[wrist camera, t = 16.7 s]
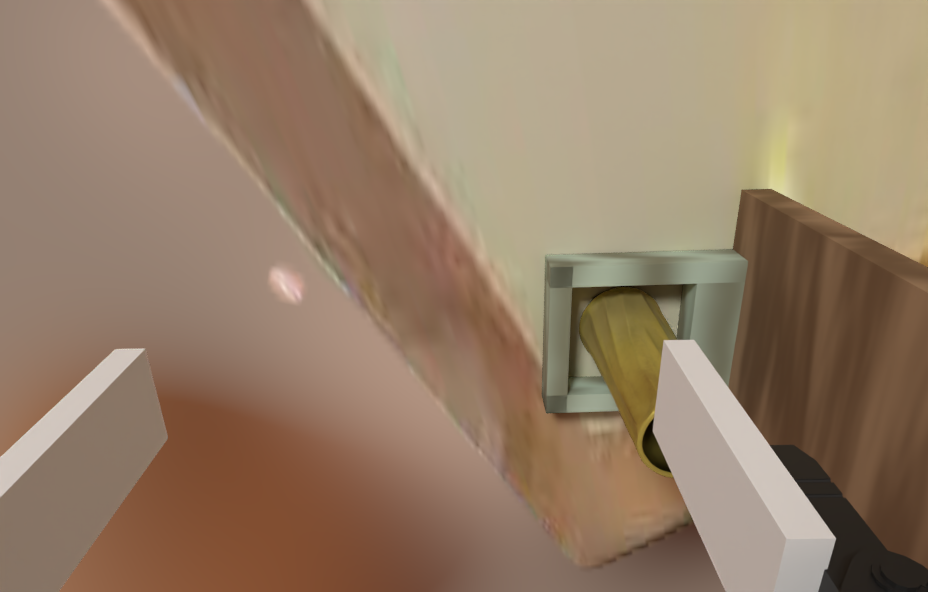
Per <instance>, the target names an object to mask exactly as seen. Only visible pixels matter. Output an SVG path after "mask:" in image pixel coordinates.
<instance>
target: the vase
mask: <svg viewBox="0 0 928 592" xmlns="http://www.w3.org/2000/svg"><path fill="white" fill-rule="evenodd" d="M579 334H580V338H581V341H582V343H583V345H584V346H585V348H586V349H587V351H588V352H589V353H590V354H591V355H592V357H593V359H594V361H595V363H596V365H597V367H598V369H599V371H600V373H601V375H602V377H603V379H604V381H605V383H606V385H607V387H608V389H609V391H610V393H611V395H612V397H613V399H614V401H615V403H616V406H617V408H618V410H619V412H620V415H621V417H622V419H623V421H624V423H625V426H626V428H627V430H628V432H629V434H630V436H631V438H632V440H633V442H634V445H635V447H636V449H637V452H638V454H639V456H640V458H641V460H642V461H643V463H644V464H645V465H646V466H647V467H648V468H650V469H651V470H653V471H654V472H656V473H658V474H660V475H662V476H665V477H670V478H674V477H673V475H672V473H671V470H670V468H669V466H668V464H667V462H666V459H665V457H664V455H663V453H662V451H661V448H660V446H659V444H658V442H657V440H656V437H655V435H654V433H653V423H654V415H655V407H656V399H657V390H658V382H659V374H660V366H661V357H662V349H663V341H664V340H677V338H676V336H675V335H674V333H673V331H672V329H671V328H670V326H669V324H668V323H667V321H666V319H665V318H664V316H663V314H662V313H661V310H660V308H659V306H658V304H657V302H656V301H655V300H654V299H653V298H652V297H651V296H649V295H648V294H646V293H645V292H643V291H641V290H640V289H636V288H631V287H619V288H614V289H610V290H607V291H605V292H603V293H601V294H600V295H598V296H597V297H596V298H594V299H593V300H592V301H591V302H590V304H589V305H588V306H587V307H586V309H585V310H584V312H583V314H582V316H581V320H580V325H579Z"/></svg>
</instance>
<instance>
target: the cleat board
mask: <svg viewBox="0 0 928 592" xmlns="http://www.w3.org/2000/svg"><path fill="white" fill-rule="evenodd" d="M668 284H683V289H682V297H681V306H680V314H679V322H678V331H677V340H695V342H696V343H697V344H698V346H699V347H700V349H701V350H702V351H703V353H704V354H705V356H706V357H707V358H708V360H709V361H710V363H711V364H712V365H713V367H714V368H715V370H716V371H717V372H718V374H719V375H720V377H721V378H722V379H723V381H724V382H725V384H726V385H727V386H728V388H729V389H730V391H731V392H732V393H733V395H734V396H735V398H736V399H737V400H738V402H739V403H740V405H741V406H742V407H743V409H744V410H745V412H746V413H747V414H748V416H749V417H750V419H751V420H752V421H753V423H754V424H755V426H756V427H757V428H758V430H759V431H760V433H761V434H762V435H763V437H764V438H765V440H766V441H767V442H768V444H769V445H795V446H796V447H798V448H799V449H800V450H802V451H803V452H805V453H806V454H808V455H809V456H810V457H812V458H813V459H815V460H816V461H817V462H818V463H819V465H820V466H821V467H822V468H823V470H824V471H825V472H826V473H827V475H828V476H829V477H830V479H831V482H834V484H835V485H836V486H837V487H838V489H839V490H840V491H841V492H842V494H843V498H846V499H847V500H848V501H849V502H850V504H851V505H852V506H853V507H854V509H855V510H856V511H857V512H858V514H859V515H860V516H861V517H862V519H863V520H864V521H865V522H866V524H867V525H868V526H869V528H870V529H871V530H872V531H873V533H874V534H875V535H876V536H877V538H878V539H879V540H880V541H881V543H882V544H883V545H884V546H885V548H886V549H887V550H888V551H891V552H894V553H897V554H900V555H904V556H906V557H908V558H910V559H912V560H914V561H916V562H917V563H919V564H921V565H923V566H924V567H926V568H927V569H928V267H926V266H924V265H922V264H920V263H918V262H916V261H914V260H912V259H910V258H908V257H906V256H904V255H902V254H900V253H898V252H896V251H894V250H892V249H890V248H888V247H886V246H884V245H882V244H880V243H878V242H876V241H874V240H872V239H870V238H868V237H866V236H864V235H862V234H860V233H858V232H856V231H854V230H852V229H850V228H848V227H846V226H844V225H842V224H840V223H838V222H836V221H834V220H832V219H830V218H828V217H826V216H824V215H822V214H820V213H818V212H816V211H814V210H812V209H810V208H808V207H806V206H804V205H802V204H800V203H798V202H796V201H794V200H792V199H790V198H788V197H786V196H784V195H782V194H780V193H778V192H776V191H774V190H772V189H757V190H742V192H741V199H740V205H739V212H738V219H737V225H736V232H735V239H734V246H733V249H726V250H693V251H660V252H627V253H594V254H561V255H546V256H545V293H544V331H543V368H542V398H543V402H544V406H545V410H546V413H570V412H601V411H619V410H618V408H617V406H616V403H615V401H614V399H613V397H612V395H611V393H610V391H609V389H608V387H607V385H606V383H605V381H604V379H603V377H602V376H601V377H569V378H568V369H569V347H570V324H571V302H572V287H603V286H636V285H668Z"/></svg>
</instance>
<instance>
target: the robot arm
mask: <svg viewBox="0 0 928 592" xmlns="http://www.w3.org/2000/svg"><path fill="white" fill-rule="evenodd" d="M653 433H654V435H655V437H656V440H657V442H658V444H659V446H660V448H661V451H662V453H663V455H664V457H665V459H666V462H667V464H668V466H669V468H670V470H671V473H672V475H673V477H674V479H675V481H676V484H677V486H678V488H679V490H680V492H681V495H682V497H683V499H684V501H685V503H686V506H687V508H688V510H689V512H690V514H691V517H692V519H693V521H694V523H695V525H696V528H697V530H698V532H699V534H700V536H701V539H702V541H703V543H704V545H705V547H706V550H707V552H708V554H709V556H710V558H711V561H712V563H713V565H714V567H715V569H716V571H717V574H718V576H719V578H720V580H721V583H722V584H723V587H724V589H725V591H726V592H928V569H927V568H926V567H924V566H923V565H921V564H919V563H917V562H916V561H914V560H912V559H910V558H908V557H906V556H904V555H900V554H897V553H894V552H891V551H888V550H887V549H886V548H885V546H884V545H883V544H882V543H881V541H880V540H879V539H878V538H877V536H876V535H875V534H874V533H873V531H872V530H871V529H870V528H869V526H868V525H867V524H866V522H865V521H864V520H863V519H862V517H861V516H860V515H859V514H858V512H857V511H856V510H855V509H854V507H853V506H852V505H851V504H850V502H849V501H848V500H847V499H846V498H843V494H842V492H841V491H840V490H839V489H838V487H837V486H836V485H835V484H834V482H831V479H830V477H829V476H828V475H827V473H826V472H825V471H824V470H823V468H822V467H821V466H820V465H819V463H818V462H817V461H816V460H815V459H813V458H812V457H810V456H809V455H808V454H806V453H805V452H803V451H802V450H800V449H799V448H798V447H796V446H795V445H769V444H768V442H767V441H766V440H765V438H764V437H763V435H762V434H761V433H760V431H759V430H758V428H757V427H756V426H755V424H754V423H753V421H752V420H751V419H750V417H749V416H748V414H747V413H746V412H745V410H744V409H743V407H742V406H741V405H740V403H739V402H738V400H737V399H736V398H735V396H734V395H733V393H732V392H731V391H730V389H729V388H728V386H727V385H726V384H725V382H724V381H723V379H722V378H721V377H720V375H719V374H718V372H717V371H716V370H715V368H714V367H713V365H712V364H711V363H710V361H709V360H708V358H707V357H706V356H705V354H704V353H703V351H702V350H701V349H700V347H699V346H698V344H697V343H696V342H695V340H664V341H663V349H662V357H661V366H660V374H659V382H658V390H657V399H656V407H655V415H654V423H653ZM167 439H168V436H167V432H166V428H165V424H164V420H163V416H162V412H161V408H160V404H159V400H158V396H157V393H156V389H155V385H154V381H153V377H152V373H151V369H150V365H149V361H148V357H147V353H146V349H115V350H114V351H113V352H112V353H111V354H110V355H109V356H108V357H107V358H105V359H104V360H103V361H102V362H101V363H100V364H99V365H98V366H97V367H96V368H95V369H94V370H93V371H92V372H91V373H89V375H87V376H86V377H85V378H84V379H83V380H82V381H81V382H80V383H79V384H78V385H77V386H76V387H75V388H74V389H72V390H71V391H70V392H69V393H68V394H67V395H66V396H65V397H64V398H63V399H62V400H61V401H60V402H59V403H58V404H57V405H55V406H54V407H53V408H52V409H51V410H50V411H49V412H48V413H47V414H46V415H45V416H44V417H43V418H42V419H41V420H39V421H38V422H37V423H36V424H35V425H34V426H33V427H32V428H31V429H30V430H29V431H28V432H27V433H26V434H25V435H24V436H23V437H21V438H20V439H19V440H18V441H17V442H16V443H15V444H14V445H13V446H12V447H11V448H10V449H9V450H8V451H6V453H4V454H3V455H2V456H1V457H0V592H59V591H60V589H61V588H62V586H63V585H64V584H65V582H66V581H67V579H68V578H69V576H70V575H71V574H72V572H73V571H74V569H75V568H76V567H77V565H78V564H79V563H80V561H81V560H82V558H83V557H84V555H85V554H86V553H87V551H88V550H89V548H90V547H91V546H92V544H93V543H94V541H95V540H96V538H97V537H98V536H99V534H100V533H101V532H102V530H103V529H104V527H105V526H106V525H107V523H108V522H109V520H110V519H111V517H112V516H113V515H114V513H115V512H116V511H117V509H118V508H119V506H120V505H121V504H122V502H123V501H124V499H125V498H126V496H127V495H128V494H129V492H130V491H131V489H132V488H133V487H134V485H135V484H136V482H137V481H138V480H139V478H140V477H141V475H142V474H143V473H144V471H145V470H146V468H147V467H148V466H149V464H150V463H151V461H152V460H153V458H154V457H155V456H156V454H157V453H158V452H159V450H160V449H161V447H162V446H163V445H164V443H165V442H166V440H167Z"/></svg>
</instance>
